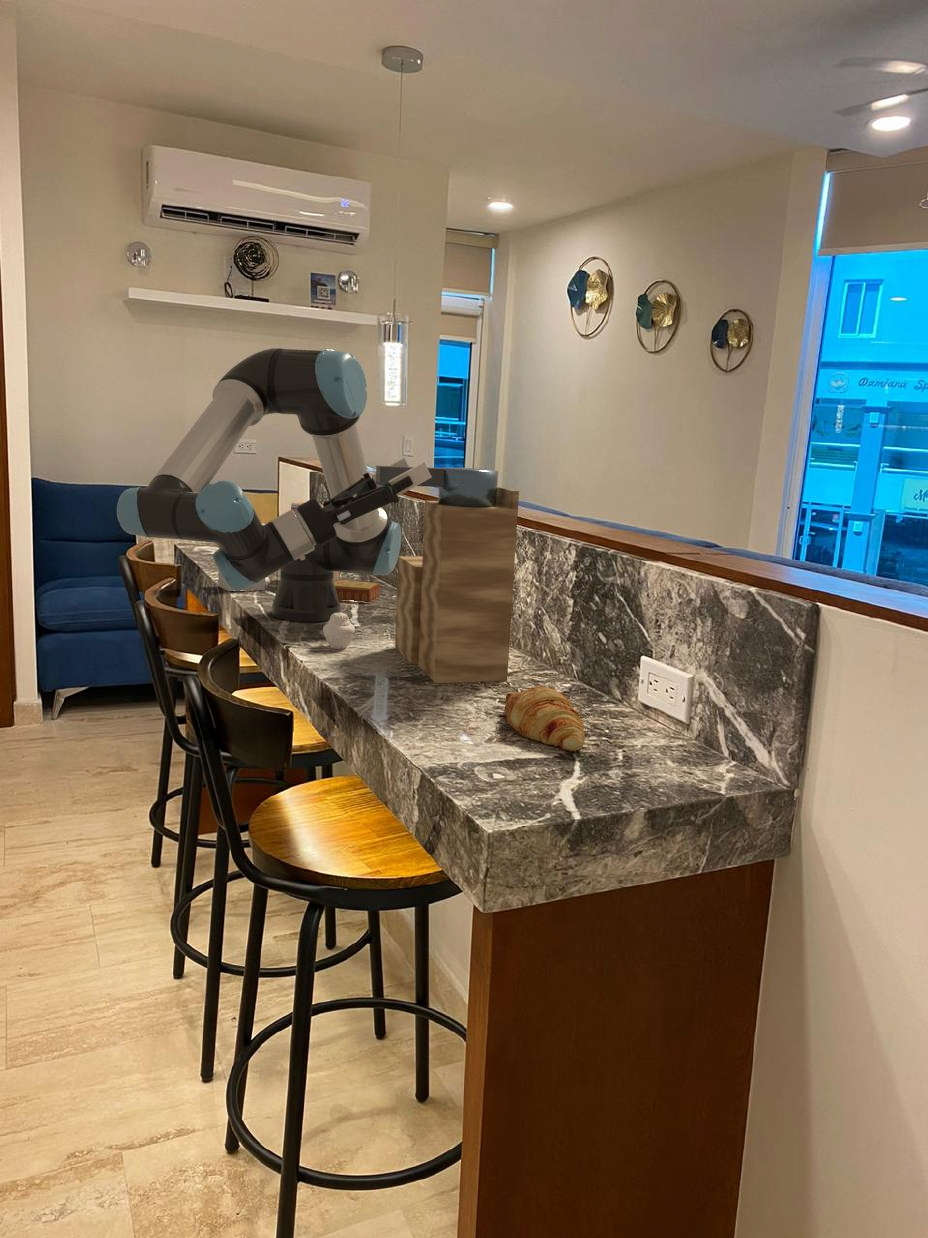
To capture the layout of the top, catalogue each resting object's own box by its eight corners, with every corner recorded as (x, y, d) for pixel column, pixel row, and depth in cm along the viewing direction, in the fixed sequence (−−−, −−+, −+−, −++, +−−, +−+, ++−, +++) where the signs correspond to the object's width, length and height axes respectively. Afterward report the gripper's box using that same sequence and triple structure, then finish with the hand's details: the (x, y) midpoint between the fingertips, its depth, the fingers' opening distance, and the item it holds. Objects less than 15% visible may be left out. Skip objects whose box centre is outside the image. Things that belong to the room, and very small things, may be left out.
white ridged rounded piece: (320, 643, 184) (321, 608, 182) (352, 643, 185) (353, 608, 184) (324, 651, 178) (325, 615, 176) (356, 650, 179) (357, 615, 178)
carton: (369, 605, 225) (369, 587, 224) (306, 599, 229) (306, 582, 228) (379, 599, 233) (380, 582, 232) (318, 593, 236) (319, 577, 236)
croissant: (594, 778, 130) (622, 727, 130) (542, 752, 125) (570, 700, 125) (521, 727, 149) (545, 683, 149) (473, 704, 144) (497, 658, 144)
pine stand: (395, 647, 184) (401, 477, 177) (463, 645, 188) (471, 479, 181) (430, 683, 160) (438, 488, 153) (507, 680, 164) (519, 491, 157)
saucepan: (370, 499, 161) (372, 464, 160) (485, 502, 167) (487, 468, 166) (383, 505, 152) (384, 467, 150) (504, 508, 158) (506, 472, 157)
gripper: (306, 538, 167) (409, 481, 170) (329, 559, 143) (447, 493, 147) (285, 501, 164) (390, 444, 167) (305, 516, 141) (426, 450, 144)
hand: (417, 466), depth 157 cm, fingers open, 13 cm apart
